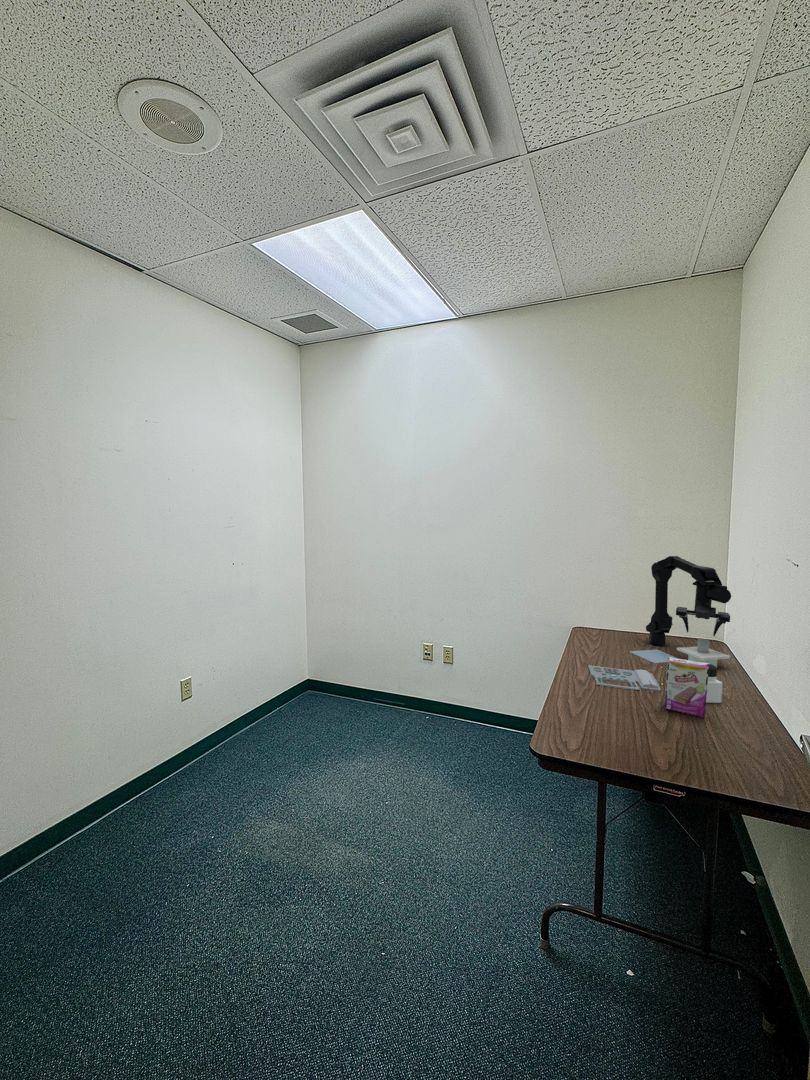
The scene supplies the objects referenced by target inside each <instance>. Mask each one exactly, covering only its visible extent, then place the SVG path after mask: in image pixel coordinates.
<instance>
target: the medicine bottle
mask: <svg viewBox="0 0 810 1080" xmlns="http://www.w3.org/2000/svg"><path fill="white" fill-rule="evenodd" d="M707 664H708V667H709V671H708V683H707V696H706V704H710V703H711V704H721V703H722V700H723V698H722V697H723V685H724V683H723V682H722V681H720V680H718V679H717V675H718V667H717V668H716V666H714V665H712V664H709V663H707Z"/></svg>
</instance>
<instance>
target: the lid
mask: <svg viewBox="0 0 810 1080" xmlns="http://www.w3.org/2000/svg"><path fill="white" fill-rule="evenodd" d="M676 651H678V652H681V653H684V654H686V655H687V656H688V655H691V656H693V657H696V658H698V659H701V660H716V659H718V660H725V659H727V660H728V659H729V660H730V659H731V656H730V655H728V654H725V653H723V652H719V651H717V650H714V649H712V648H710V640H709V639H706V638H697V646H683V647H682V646H681V647H676Z"/></svg>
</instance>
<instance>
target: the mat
mask: <svg viewBox="0 0 810 1080" xmlns="http://www.w3.org/2000/svg"><path fill="white" fill-rule="evenodd" d="M628 652H629V653H631V654H634V655H635V656H637V657H639V658H643V659H644V660H646V661H649V662H651V663H653V664H656V663H657V664H659V663H668V657H672V658H678V659H680V658H679V657H676V656H673V655H672V654H668V653H667V652H663V651H662V650H659V649H647V650H645V649H644V650H632V651H631V650H629V651H628Z"/></svg>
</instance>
